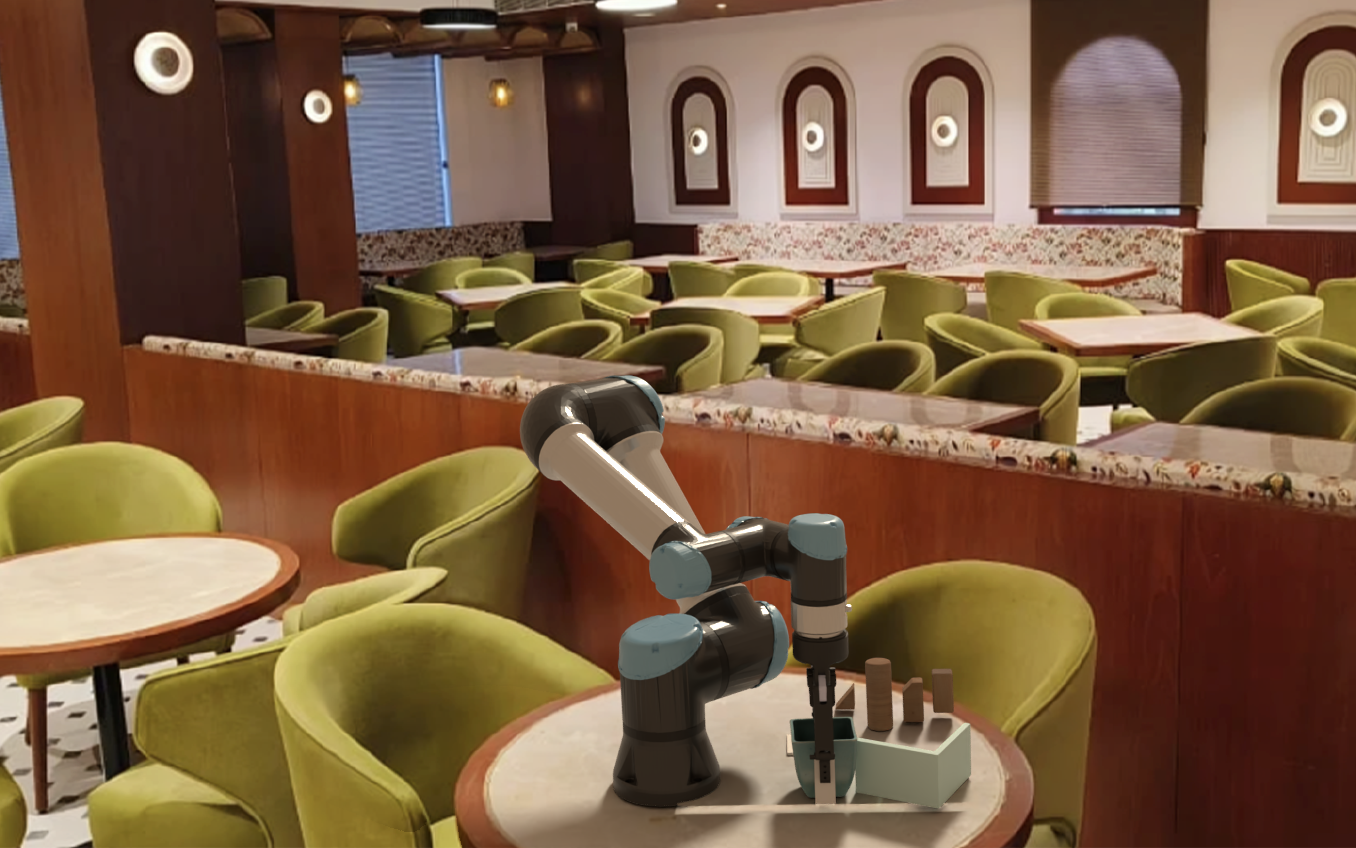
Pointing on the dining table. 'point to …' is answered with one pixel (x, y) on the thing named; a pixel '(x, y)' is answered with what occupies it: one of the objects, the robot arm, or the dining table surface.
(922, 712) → the wooden block set
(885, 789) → the right angle wall
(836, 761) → the flower pot
